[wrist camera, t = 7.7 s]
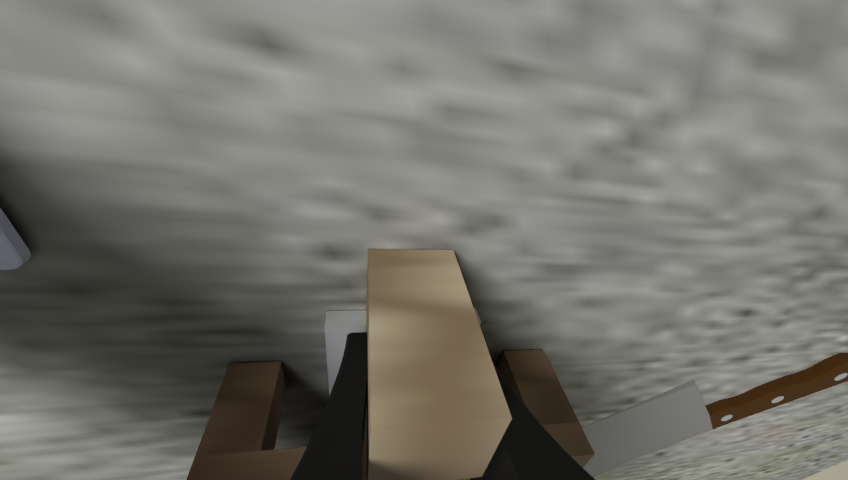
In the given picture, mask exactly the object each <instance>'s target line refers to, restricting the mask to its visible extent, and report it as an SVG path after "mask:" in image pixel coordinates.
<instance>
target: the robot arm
mask: <svg viewBox="0 0 848 480" xmlns="http://www.w3.org/2000/svg"><path fill="white" fill-rule="evenodd" d="M30 256H31V254H30V251H29V249H28V248H27V246H26V245H25V243H24V242H23V240H22V239H21V237H20V236H19V234H18V233H17V231H16V230H15V228H14V227H13V225H12V224H11V222H10V221H9V220H8V218H7V217H6V215H5V214H4V212H3V211H2V209H1V208H0V270H12V269H17V268H18V267H20V266H21V265H23V264H24V263H25V262H27V261H28V260H29V259H30ZM492 362H493V361H492ZM493 365H494V368H495V371H496V374H497V376H498V379H499V382H500V385H501V388H502V391H503V394H504V397H505V399H506V402H507V405H508V408H509V411H510V414H511V417H512V420H511V422H510V424H509V426H508V427H507V429H506V431H505V433H504V435H503V437H502V439H501V441H500V443H499V445H498V447H497V449H496V451H495V452H494V454H493V456H492V458H491V460H490V462H489V464H488V466H487V468H486V470H485V472H484V474H483V476H482V477H477V478H470V480H595V479H594V478H593V477H592V476H591V475H590V474H589V473H588V472H587V471H586V470H584V469H583V468H582V467H581V466H580V465H579V464H578V463H577V462H576V461H575V460H574V459H573V458H572V457H571V456H570V455H569V454H568V453H567V452H566V451H565V450H564V449H563V448H562V447H561V446H560V445H559V444H558V443H557V441H556V440H555V439H554V438H553V437H552V436H551V435H550V434H549V433H548V432H547V431H546V429H545V428H544V427H543V426H542V425H541V424H540V423H539V422H538V420H537V419H536V418H535V417H534V416H533V415H532V413H531V412H530V411H529V410H528V408H527V407H526V406H525V405H524V403H523V402H522V401H521V400H520V398H519V397H518V396H517V395H516V393H515V392H514V391H513V389H512V388H511V387H510V385H509V384H508V383H507V381H506V380H505V378H504V377H503V376H502V374H501V373H500V372H499V370H498V369H497V367H496V366H495V364H494V363H493ZM367 376H368V347H367V332H355V333H349V334H348V335H347V339H346V345H345V350H344V354H343V358H342V361H341V365H340V368H339V371H338V374H337V377H336V380H335V383H334V385H333V388H332V391H331V394H330V396H329V399H328V401H327V404H326V406H325V408H324V411H323V413H322V415H321V418H320V420H319V422H318V425H317V427H316V429H315V431H314V433H313V436H312V438H311V440H310V442H309V444H308V446H307V448H306V450H305V452H304V454H303V456H302V458H301V460H300V462H299V464H298V466H297V468H296V469H295V471H294V473H293V475H292V477H291V479H290V480H362V457H363V445H364V433H365V421H366V409H367Z"/></svg>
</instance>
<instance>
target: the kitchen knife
mask: <svg viewBox="0 0 848 480" xmlns="http://www.w3.org/2000/svg"><path fill="white" fill-rule="evenodd" d="M846 381H848V353H839V354H837V355H834V356H832V357H829V358H827V359H824V360H823V361H821V362H819V363H817V364H815V365H814V366H812V367H810V368H808V369H805V370H803V371H800V372H797V373H795V374H791V375H787V376H784V377H781V378H779V379H776V380H774V381H771V382H768V383H766V384H763V385H761V386H758V387H756V388H753V389H751V390H749V391H747V392H745V393H743V394H740V395H738V396H735V397H732V398H727V399H723V400H719V401H717V402H714V403H712V404H709V405H706V406H705V404H704V402H703V400H702V398H701V396H700V393H699V391H698V389H697V387H696V385H695V382H694V380H692V381H690V382H687V383H685V384H683V385H680V386H678V387H676V388H673V389H671V390H669V391H666V392H664V393H662V394H659V395H657V396H655V397H652V398H650V399H648V400H646V401H643V402H641V403H639V404H636V405H634V406H632V407H629V408H627V409H625V410H622V411H620V412H618V413H615V414H613V415H611V416H609V417H606V418H604V419H602V420H599V421H597V422H595V423H592V424H590V425H588V426H586V427H583V428H582V429H583V431H584V433H585V435H586V437H587V439H588V441H589V443H590V445H591V447H592V449H593V451H594V453H595V455H594V456H593V457H592V458H591V459H590V460H589V461H588V462H587V464H586V465H585V466H584V467H583V469H584V470H586V471H587V472H588V473H589V474H590V475H591V476H592V477H593V476H595V475H598V474H600V473H602V472H604V471H606V470H608V469H611V468H613V467H615V466H618V465H620V464H623V463H625V462H628V461H630V460H633V459H635V458H637V457H640V456H642V455H645V454H647V453H650V452H653V451H655V450H658V449H661V448H663V447H666V446H669V445H672V444H674V443H677V442H680V441H682V440H685V439H688V438H690V437H693V436H696V435H699V434H701V433H704V432H707V431H709V430H712V429H716V428H717V427H720V426H722V425H725V424H728V423H731V422H734V421H736V420H739V419H742V418H745V417H748V416H750V415H753V414H756V413H759V412H762V411H764V410H767V409H770V408H773V407H776V406H778V405H781V404H784V403H787V402H790V401H792V400H795V399H798V398H801V397H804V396H807V395H809V394H812V393H815V392H818V391H821V390H823V389H826V388H829V387H832V386H835V385H837V384H840V383H843V382H846Z"/></svg>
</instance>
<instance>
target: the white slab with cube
mask: <svg viewBox="0 0 848 480" xmlns="http://www.w3.org/2000/svg"><path fill="white" fill-rule="evenodd" d="M480 326H481V320H480V318H479V315H478V312H477V309H476V308H473V305H472V302H471V299H470V296H469V293H468V290H467V288H466V285H465V282H464V279H463V276H462V273H461V270H460V267H459V265H458V262H457V259H456V256H455V253H454V250H412V249H368V273H367V303H366V310H359V311H327V312H326V320H325V341H326V356H327V370H328V384H329V396H330V394H331V391H332V388H333V385H334V383H335V380H336V377H337V374H338V371H339V368H340V365H341V361H342V358H343V354H344V350H345V345H346V339H347V335H348V334H349V333H355V332H367V347H368V376H367V409H366V421H365V433H364V441H367V480H460V479H468V478H477V477H482V476H483V474H484V472H485V470H486V468H487V466H488V464H489V462H490V460H491V458H492V456H493V454H494V452H495V451H496V449H497V447H498V445H499V443H500V441H501V439H502V437H503V435H504V433H505V431H506V429H507V427H508V426H509V424H510V422H511V420H512V417H511V414H510V411H509V408H508V405H507V402H506V399H505V397H504V394H503V391H502V388H501V385H500V382H499V379H498V376H497V374H496V371H495V368H494V365H493V362H492V359H491V356H490V354H489V351H488V348H487V345H486V342H485V339H484V336H483V333H482V331H481V328H480Z"/></svg>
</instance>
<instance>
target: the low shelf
mask: <svg viewBox="0 0 848 480" xmlns="http://www.w3.org/2000/svg"><path fill="white" fill-rule="evenodd" d="M497 369H498V370H499V372H500V373H501V374H502V376H503V377H504V378H505V380H506V381H507V383H508V384H509V385H510V387H511V388H512V389H513V391H514V392H515V393H516V395H517V396H518V397H519V398H520V400H521V401H522V402H523V403H524V405H525V406H526V407H527V408H528V410H529V411H530V412H531V413H532V415H533V416H534V417H535V418H536V419H537V420H538V422H539V423H540V424H541V425H542V426H543V427H544V428H545V429H546V431H547V432H548V433H549V434H550V435H551V436H552V437H553V438H554V439H555V440H556V441H557V443H558V444H559V445H560V446H561V447H562V448H563V449H564V450H565V451H566V452H567V453H568V454H569V455H570V456H571V457H572V458H573V459H574V460H575V461H576V462H577V463H578V464H579V465H580V466H581V467H582V468H583V467H584V466H585V465H586V464H587V462H588V461H589V460H590V459H591V458H592V457H593V456H594V455H595V453H594V451H593V449H592V447H591V445H590V443H589V441H588V439H587V437H586V435H585V433H584V431H583V429H582V427H581V425H580V423H579V421H578V419H577V417H576V415H575V413H574V411H573V409H572V407H571V405H570V403H569V401H568V399H567V397H566V395H565V393H564V391H563V389H562V387H561V385H560V383H559V381H558V379H557V377H556V375H555V373H554V371H553V369H552V367H551V365H550V363H549V361H548V359H547V358H546V356H545V354H544V352H543V350H542V349H534V350H512V351H503V354H502V356H501V359H500V361H499V364H498V366H497ZM285 392H286V384H285V379H284V374H283V369H282V363H281V361H275V362H254V363H232V364H229V366H228V369H227V372H226V374H225V377H224V380H223V383H222V385H221V388H220V391H219V393H218V396H217V399H216V402H215V404H214V407H213V410H212V412H211V415H210V418H209V421H208V423H207V426H206V429H205V431H204V434H203V437H202V440H201V442H200V445H199V448H198V450H197V453H196V456H195V459H194V461H193V464H192V467H191V469H190V472H189V475H188V478H187V480H290V479H291V477H292V475H293V473H294V471H295V469H296V468H297V466H298V464H299V462H300V460H301V458H302V456H303V454H304V452H305V450H306V448H307V447H297V448H286V449H275V450H274V447H275V442H276V437H277V432H278V427H279V422H280V417H281V412H282V407H283V402H284V397H285ZM362 480H367V441H364V445H363V457H362ZM460 480H470V478H468V479H460Z"/></svg>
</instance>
